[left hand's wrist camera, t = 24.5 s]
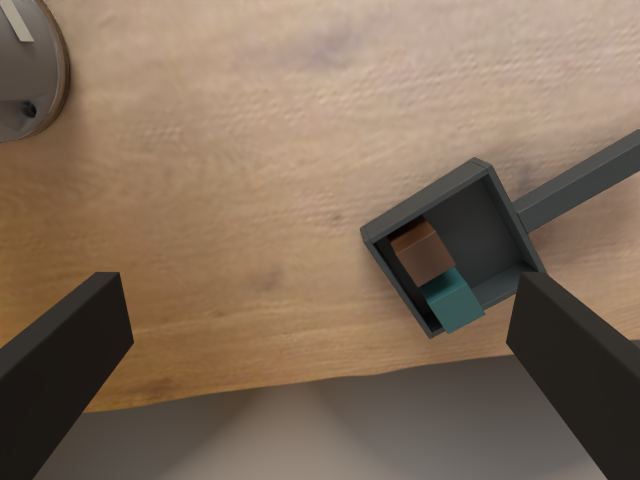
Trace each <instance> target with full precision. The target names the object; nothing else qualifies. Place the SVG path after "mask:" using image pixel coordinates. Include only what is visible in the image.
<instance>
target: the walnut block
mask: <svg viewBox="0 0 640 480" xmlns="http://www.w3.org/2000/svg"><path fill="white" fill-rule="evenodd" d="M387 237H388V239H389V241H390V243H391V246H392V248H393V250H394V252H395V254H396V256H397V257H398V259H399V260H400V262H401V263H402V265H403V266H404V268H405V269H406V271H407V272H408V274H409V275H410V277H411V278H412V280H413V281H414V283H415V284H416V286H417V287H420V286H421V285H423V284H425V283H427V282H428V281H430V280H432V279H434V278H435V277H437V276H439V275H440V274H442V273H444V272H446V271H447V270H449V269H451V268H453V267H454V266H456V263H455V262H454V260H453V258H452V257H451V255H450V254H449V252H448V250H447V249H446V247H445V245H444V244H443V242H442V241H441V239H440V237H439V236H438V234H437V232H436V231H435V230H434V229H433V227H432V226H431V225H430V224H429V223H428V221H427V220H426V219H425V218H424V217H423V215H422V214H421V215H419V216H418V217H416V218H414V219H413V220H411V221H409V222H408V223H406V224H404V225H403V226H401V227H400V228H398V229H396V230H395V231H393V232H391V233H390V234H388V235H387Z"/></svg>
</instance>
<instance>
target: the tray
mask: <svg viewBox="0 0 640 480" xmlns="http://www.w3.org/2000/svg"><path fill="white" fill-rule="evenodd" d="M638 171H640V129H638V130H636V131H634V132H633V133H631V134H629V135H627V136H626V137H624V138H622V139H621V140H619V141H617V142H615V143H614V144H612V145H610V146H609V147H607V148H605V149H603V150H602V151H600V152H598V153H597V154H595V155H593V156H591V157H590V158H588V159H586V160H585V161H583V162H581V163H579V164H578V165H576V166H574V167H573V168H571V169H569V170H567V171H566V172H564V173H562V174H561V175H559V176H557V177H555V178H554V179H552V180H550V181H548V182H547V183H545V184H543V185H542V186H540V187H538V188H536V189H535V190H533V191H531V192H530V193H528V194H526V195H524V196H523V197H521V198H519V199H518V200H516V201H514V202H512V203H511V201H510V199H509V197H508V195H507V194H506V192H505V190H504V188H503V186H502V184H501V182H500V180H499V178H498V176H497V174H496V172H495V170H494V168H493V166H492V165H491V164H489V163H487V162H484V161H482V160H480V159H477V158H475V157H474V158H472V159H471V160H469V161H467V162H466V163H464V164H463V165H461V166H459V167H458V168H456V169H454V170H453V171H451V172H450V173H448V174H446V175H445V176H443V177H442V178H440V179H438V180H437V181H435V182H434V183H432V184H430V185H429V186H427V187H426V188H424V189H422V190H421V191H419V192H417V193H416V194H414V195H413V196H411V197H409V198H408V199H406V200H405V201H403V202H401V203H400V204H398V205H397V206H395V207H393V208H392V209H390V210H389V211H387V212H385V213H384V214H382V215H381V216H379V217H377V218H376V219H374V220H372V221H371V222H369V223H368V224H366V225H364V226H363V227H361V228H360V231H361V234H362V238H363V241H364V244H365V245H366V247H367V248H368V249H369V251H370V252H371V254H372V255H373V257H374V258H375V260H376V261H377V263H378V264H379V266H380V267H381V269H382V270H383V271H384V273H385V274H386V276H387V277H388V279H389V280H390V282H391V283H392V285H393V286H394V288H395V289H396V291H397V292H398V293H399V295H400V296H401V298H402V299H403V301H404V302H405V304H406V305H407V307H408V308H409V310H410V311H411V313H412V314H413V315H414V317H415V318H416V320H417V321H418V323H419V324H420V326H421V327H422V329H423V330H424V332H425V333H426V335H427V336H428V337H429V339H431V338H433V337H434V336H437V335H439V334H440V333H442V332H444V331H446V330H445V329H444V327H443V326H442V324H441V323H440V321H439V320H438V318H437V317H436V315H435V314H434V312H433V311H432V309H431V308H430V306H429V305H428V303H427V301H426V299H425V297H424V295H423V293H422V291H421V289H420V287H417V286H416V284H415V283H414V281H413V280H412V278H411V277H410V275H409V274H408V272H407V271H406V269H405V268H404V266H403V265H402V263H401V262H400V260H399V259H398V257H397V256H396V254H395V252H394V250H393V248H392V246H391V243H390V241H389V239H388V237H387V235H388V234H390V233H391V232H393V231H395V230H396V229H398V228H400V227H401V226H403V225H404V224H406V223H408V222H409V221H411V220H413V219H414V218H416V217H418V216H419V215H421V214H422V215H423V217H424V218H425V219H426V220H427V221H428V223H429V224H430V225H431V226H432V227H433V229H434V230H435V231H436V232H437V234H438V236H439V237H440V239H441V241H442V242H443V244H444V245H445V247H446V249H447V250H448V252H449V254H450V255H451V257H452V258H453V260H454V262H455V263H456V266H454V267H455V268H456V270H457V271H458V272H459V274H460V275H461V276H462V278H463V279H464V280H465V281H466V283H467V284H468V286H469V287H470V289H471V291H472V292H473V294H474V296H475V297H476V299H477V301H478V302H479V304H480V306H481V307H482V309H483V310H486V309H488V308H489V307H491V306H493V305H495V304H497V303H499V302H501V301H503V300H505V299H506V298H508V297H510V296H512V295H514V294H516V292H517V287H518V282H519V278H520V273H521V272H545V273H546V274H547V272H546V270H545V268H544V266H543V264H542V262H541V260H540V258H539V256H538V254H537V252H536V250H535V248H534V246H533V244H532V242H531V240H530V238H529V237H528V235H527V233H529V232H531V231H533V230H535V229H536V228H538V227H540V226H542V225H543V224H545V223H547V222H549V221H551V220H552V219H554V218H556V217H558V216H560V215H561V214H563V213H565V212H567V211H568V210H570V209H572V208H574V207H576V206H577V205H579V204H581V203H583V202H585V201H586V200H588V199H590V198H592V197H593V196H595V195H597V194H599V193H601V192H602V191H604V190H606V189H608V188H609V187H611V186H613V185H615V184H617V183H618V182H620V181H622V180H624V179H626V178H627V177H629V176H631V175H633V174H634V173H636V172H638ZM547 275H548V274H547Z"/></svg>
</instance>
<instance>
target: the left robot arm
mask: <svg viewBox="0 0 640 480" xmlns="http://www.w3.org/2000/svg"><path fill="white" fill-rule="evenodd" d="M69 77H70V70H69V60H68V54H67V50H66V46H65V42H64V39H63V37H62V34H61V31H60V29H59V27H58V25H57V23H56V21H55V19H54V17H53V15H52V14H51V12H50V10H49V9H48V7H47V6H46V4H45V3H44V2H43V0H0V143H2V142H9V141H15V140H21V139H25V138H29V137H31V136H34V135H36V134H38V133H39V132H41V131H43V130H44V129H45V128H47V127H48V126H49V125H50V124H51V123H52V122H53V121H54V120H55V119H56V117H57V116H58V114H59V113H60V111H61V109H62V107H63V105H64V103H65V100H66V97H67V93H68V88H69ZM133 343H134V340H133V335H132V330H131V325H130V321H129V316H128V311H127V306H126V301H125V297H124V292H123V287H122V282H121V278H120V273H119V272H95V273H94V274H93V275H92V276H90V277H89V278H88V279H87V280H85V281H84V282H83V283H82V284H81V285H79V286H78V287H77V288H76V289H74V290H73V291H72V292H71V293H69V294H68V295H67V296H66V297H64V298H63V299H62V300H61V301H59V302H58V303H57V304H56V305H54V306H53V307H52V308H51V309H49V310H48V311H47V312H46V313H44V314H43V315H42V316H41V317H39V318H38V319H37V320H36V321H34V322H33V323H32V324H31V325H29V326H28V327H27V328H26V329H24V330H23V331H22V332H21V333H19V334H18V335H17V336H16V337H14V338H13V339H12V340H11V341H9V342H8V343H7V344H6V345H4V346H3V347H2V348H1V349H0V480H32V479H33V478H34V477H35V475H36V474H37V473H38V471H39V470H40V469H41V467H42V466H43V465H44V463H45V462H46V461H47V459H48V458H49V456H50V455H51V454H52V452H53V451H54V450H55V448H56V447H57V446H58V444H59V443H60V442H61V440H62V439H63V438H64V436H65V435H66V434H67V432H68V431H69V430H70V428H71V427H72V426H73V424H74V423H75V422H76V420H77V419H78V417H79V416H80V415H81V413H82V412H83V411H84V409H85V408H86V407H87V405H88V404H89V403H90V401H91V400H92V399H93V397H94V396H95V395H96V393H97V392H98V391H99V389H100V388H101V387H102V385H103V384H104V382H105V381H106V380H107V378H108V377H109V376H110V374H111V373H112V372H113V370H114V369H115V368H116V366H117V365H118V364H119V362H120V361H121V360H122V358H123V357H124V356H125V354H126V353H127V352H128V350H129V349H130V347H131V346H132V345H133ZM506 343H507V345H508V346H509V347H510V349H511V350H512V352H513V353H514V354H515V356H516V357H517V358H518V360H519V361H520V362H521V364H522V365H523V366H524V368H525V369H526V370H527V372H528V373H529V374H530V376H531V377H532V378H533V380H534V381H535V382H536V384H537V385H538V386H539V388H540V389H541V391H542V392H543V393H544V395H545V396H546V397H547V399H548V400H549V401H550V403H551V404H552V405H553V407H554V408H555V409H556V411H557V412H558V413H559V415H560V416H561V417H562V419H563V420H564V421H565V423H566V424H567V426H568V427H569V428H570V430H571V431H572V432H573V434H574V435H575V436H576V438H577V439H578V440H579V442H580V443H581V444H582V446H583V447H584V448H585V450H586V451H587V452H588V454H589V455H590V456H591V458H592V459H593V461H594V462H595V463H596V465H597V466H598V467H599V469H600V470H601V471H602V473H603V474H604V475H605V477H606V478H607V479H608V480H640V349H639V348H638V347H637V346H636V345H634V344H633V343H632V342H631V341H629V340H628V339H627V338H626V337H624V336H623V335H622V334H621V333H619V332H618V331H617V330H616V329H614V328H613V327H612V326H611V325H609V324H608V323H607V322H606V321H604V320H603V319H602V318H601V317H599V316H598V315H597V314H596V313H594V312H593V311H592V310H591V309H589V308H588V307H587V306H586V305H584V304H583V303H582V302H581V301H579V300H578V299H577V298H576V297H574V296H573V295H572V294H571V293H569V292H568V291H567V290H566V289H564V288H563V287H562V286H561V285H559V284H558V283H557V282H556V281H555V280H553V279H552V278H551V277H550V276H548V275H547V274H546V273H545V272H521V273H520V278H519V282H518V287H517V292H516V297H515V301H514V306H513V311H512V316H511V321H510V325H509V330H508V335H507V340H506Z"/></svg>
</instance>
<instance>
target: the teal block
mask: <svg viewBox="0 0 640 480" xmlns="http://www.w3.org/2000/svg"><path fill="white" fill-rule="evenodd" d="M420 289H421V291H422V293H423V295H424V297H425V299H426V301H427V303H428V305H429V306H430V308H431V309H432V311H433V312H434V314H435V315H436V317H437V318H438V320H439V321H440V323H441V324H442V326H443V327H444V329H445V330H446V332H447V333H448V334H449V333H451V332H453V331H455V330H457V329H459V328H461V327H463V326H464V325H466V324H468V323H470V322H472V321H474V320H476V319H478V318H479V317H481V316H483V315H485V312H484V310H483V309H482V307H481V306H480V304H479V302H478V301H477V299H476V297H475V296H474V294H473V292H472V291H471V289H470V287H469V286H468V284H467V283H466V281H465V280H464V279H463V278H462V276H461V275H460V274H459V272H458V271H457V270H456V268H455V267H453V268H451V269H449V270H447V271H446V272H444V273H442V274H440V275H439V276H437V277H435V278H434V279H432V280H430V281H428V282H427V283H425V284H423V285H421V286H420Z"/></svg>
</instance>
